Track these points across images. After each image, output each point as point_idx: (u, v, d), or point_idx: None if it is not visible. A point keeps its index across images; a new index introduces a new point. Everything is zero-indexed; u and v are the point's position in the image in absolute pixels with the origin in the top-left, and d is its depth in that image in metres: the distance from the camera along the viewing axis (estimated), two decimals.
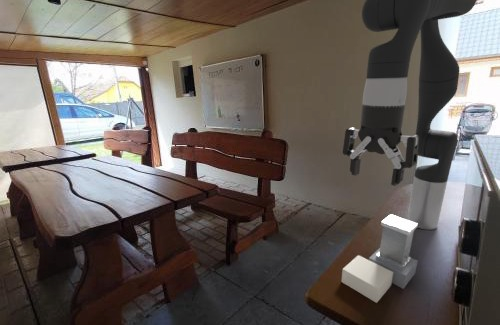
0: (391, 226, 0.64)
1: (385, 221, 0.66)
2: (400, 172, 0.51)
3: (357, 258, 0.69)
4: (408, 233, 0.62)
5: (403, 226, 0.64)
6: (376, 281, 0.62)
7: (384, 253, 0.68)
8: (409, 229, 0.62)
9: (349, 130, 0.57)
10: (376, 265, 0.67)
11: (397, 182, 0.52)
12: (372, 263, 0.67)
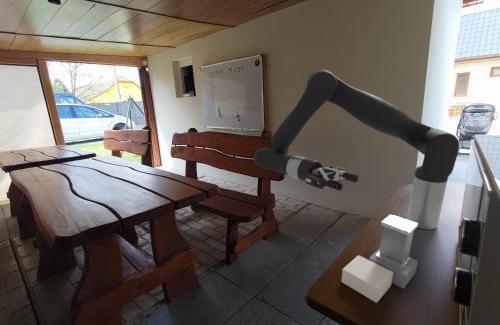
0: (391, 226, 0.64)
1: (385, 221, 0.66)
2: (330, 187, 0.73)
3: (357, 258, 0.69)
4: (408, 233, 0.62)
5: (403, 226, 0.64)
6: (376, 281, 0.62)
7: (384, 253, 0.68)
8: (409, 229, 0.62)
9: None
10: (376, 265, 0.67)
11: None
12: (372, 263, 0.67)
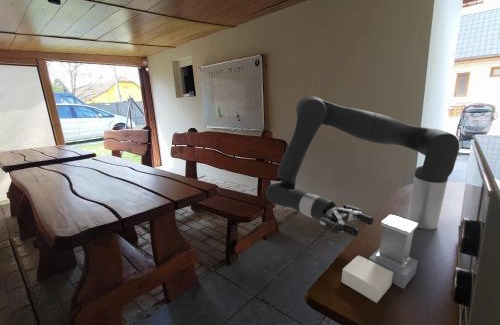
0: (391, 226, 0.64)
1: (385, 221, 0.66)
2: (345, 231, 0.72)
3: (357, 258, 0.69)
4: (408, 233, 0.62)
5: (403, 226, 0.64)
6: (376, 281, 0.62)
7: (384, 253, 0.68)
8: (409, 229, 0.62)
9: None
10: (376, 265, 0.67)
11: None
12: (372, 263, 0.67)
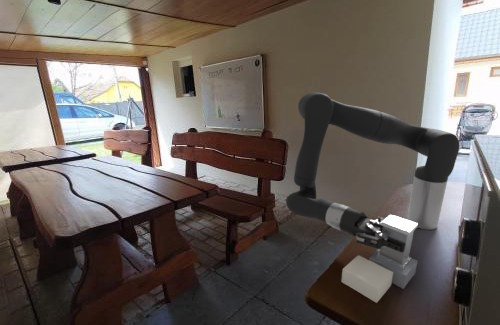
0: (391, 226, 0.64)
1: (385, 221, 0.66)
2: (389, 247, 0.65)
3: (357, 258, 0.69)
4: (408, 233, 0.62)
5: (403, 226, 0.64)
6: (376, 281, 0.62)
7: (384, 253, 0.68)
8: (409, 229, 0.62)
9: None
10: (376, 265, 0.67)
11: None
12: (372, 263, 0.67)
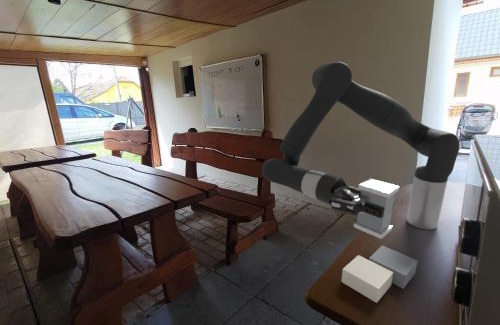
0: (369, 189, 0.57)
1: (363, 184, 0.59)
2: (367, 212, 0.58)
3: (357, 258, 0.69)
4: (387, 195, 0.54)
5: (382, 188, 0.56)
6: (376, 281, 0.62)
7: (362, 221, 0.61)
8: (388, 191, 0.55)
9: None
10: (376, 265, 0.67)
11: None
12: (372, 263, 0.67)
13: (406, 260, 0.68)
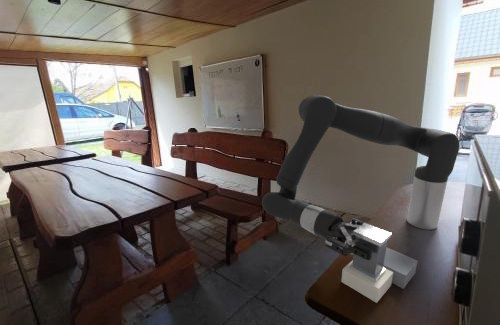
0: (363, 236, 0.61)
1: (357, 230, 0.62)
2: None
3: None
4: (380, 244, 0.58)
5: (375, 236, 0.60)
6: None
7: (357, 264, 0.64)
8: (381, 239, 0.59)
9: None
10: None
11: None
12: None
13: (406, 260, 0.68)
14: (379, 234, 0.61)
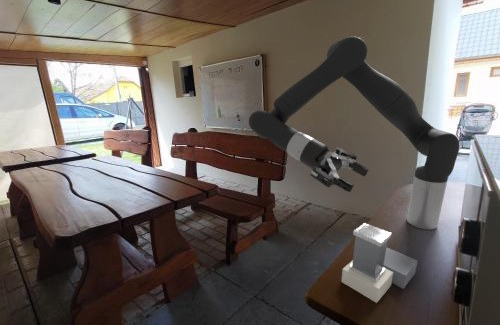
0: (363, 236, 0.61)
1: (357, 230, 0.62)
2: None
3: None
4: (380, 244, 0.58)
5: (375, 236, 0.60)
6: None
7: (357, 264, 0.64)
8: (381, 239, 0.59)
9: None
10: None
11: None
12: None
13: (406, 260, 0.68)
14: (379, 234, 0.61)
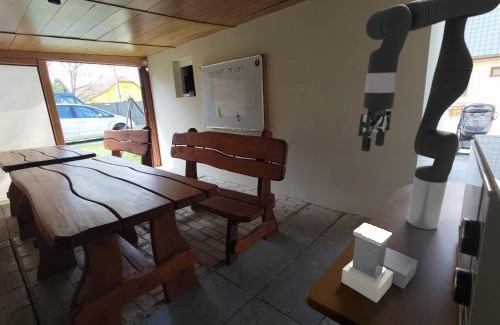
0: (363, 236, 0.61)
1: (357, 230, 0.62)
2: (362, 140, 0.72)
3: None
4: (380, 244, 0.58)
5: (375, 236, 0.60)
6: None
7: (357, 264, 0.64)
8: (381, 239, 0.59)
9: None
10: None
11: None
12: None
13: (406, 260, 0.68)
14: (379, 234, 0.61)
